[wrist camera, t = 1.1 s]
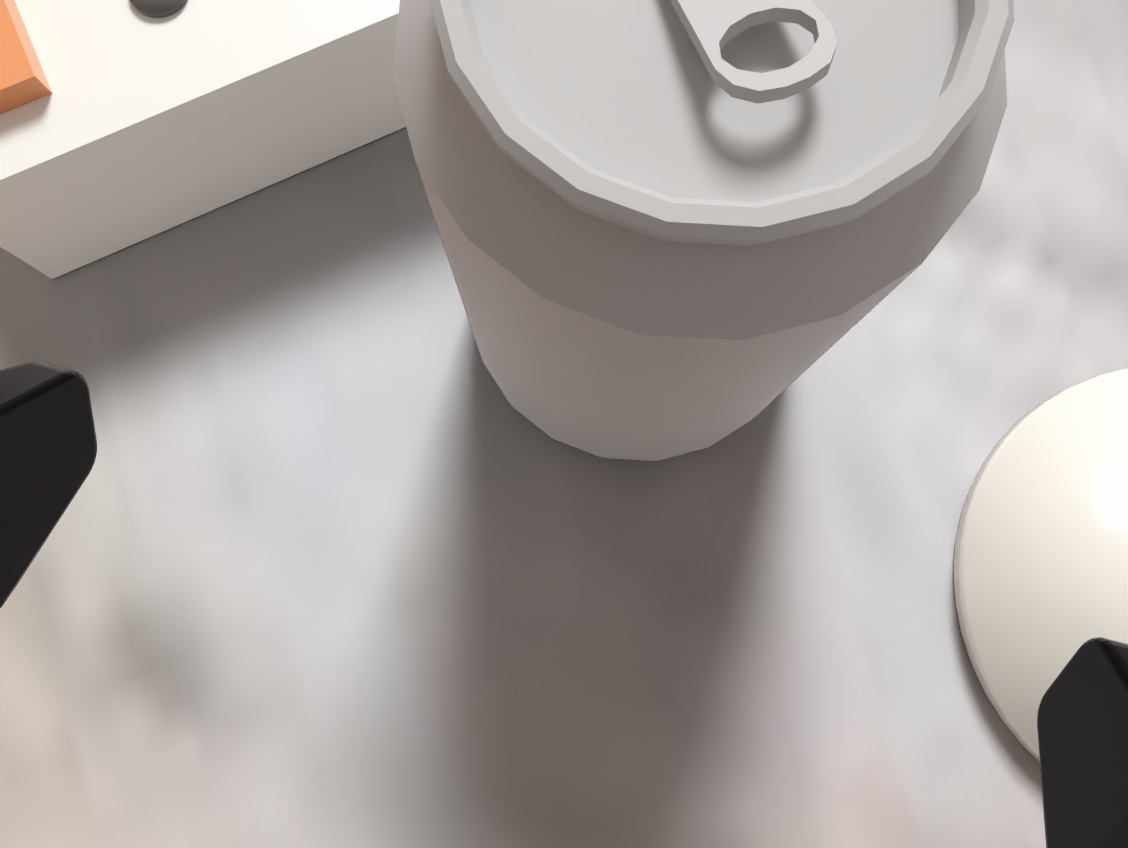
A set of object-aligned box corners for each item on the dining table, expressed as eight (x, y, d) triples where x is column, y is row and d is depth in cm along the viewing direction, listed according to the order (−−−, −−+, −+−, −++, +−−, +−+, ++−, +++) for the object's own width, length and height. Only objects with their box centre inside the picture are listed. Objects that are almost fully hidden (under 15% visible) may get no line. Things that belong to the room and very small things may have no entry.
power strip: (589, 47, 22) (596, -92, 18) (52, 279, 21) (-87, 193, 17) (505, -112, 23) (490, -284, 19) (-17, 102, 22) (-167, -25, 17)
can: (709, 114, 22) (880, -440, 10) (849, 389, 21) (1229, 117, 9) (424, 230, 21) (256, -216, 10) (551, 520, 20) (535, 415, 8)
